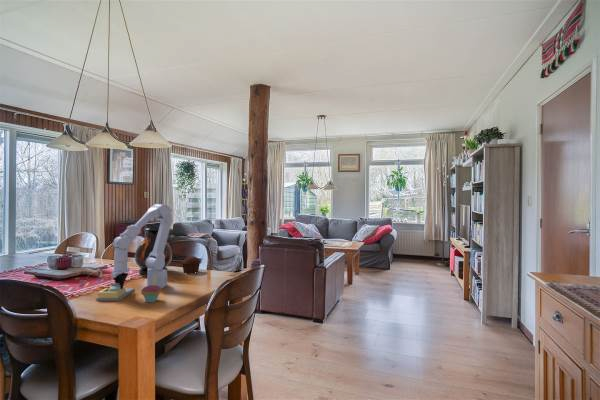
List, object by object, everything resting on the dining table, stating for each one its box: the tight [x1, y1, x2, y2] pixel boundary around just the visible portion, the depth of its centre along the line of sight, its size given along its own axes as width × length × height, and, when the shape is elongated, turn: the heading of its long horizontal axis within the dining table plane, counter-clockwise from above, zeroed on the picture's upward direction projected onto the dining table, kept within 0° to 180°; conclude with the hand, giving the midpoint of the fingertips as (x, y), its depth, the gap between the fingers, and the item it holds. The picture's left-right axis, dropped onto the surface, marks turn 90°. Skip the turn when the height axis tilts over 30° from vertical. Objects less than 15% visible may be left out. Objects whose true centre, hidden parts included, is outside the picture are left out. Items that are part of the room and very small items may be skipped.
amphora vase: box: [134, 226, 173, 275], centre depth 200 cm, size 22×22×28 cm
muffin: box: [181, 255, 201, 274], centre depth 203 cm, size 12×11×10 cm
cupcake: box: [140, 274, 162, 303], centre depth 146 cm, size 9×8×12 cm
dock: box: [96, 287, 135, 302], centre depth 152 cm, size 10×16×4 cm, turn 5°
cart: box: [108, 283, 121, 292], centre depth 150 cm, size 6×4×4 cm
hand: (119, 288), depth 155 cm, fingers closed
